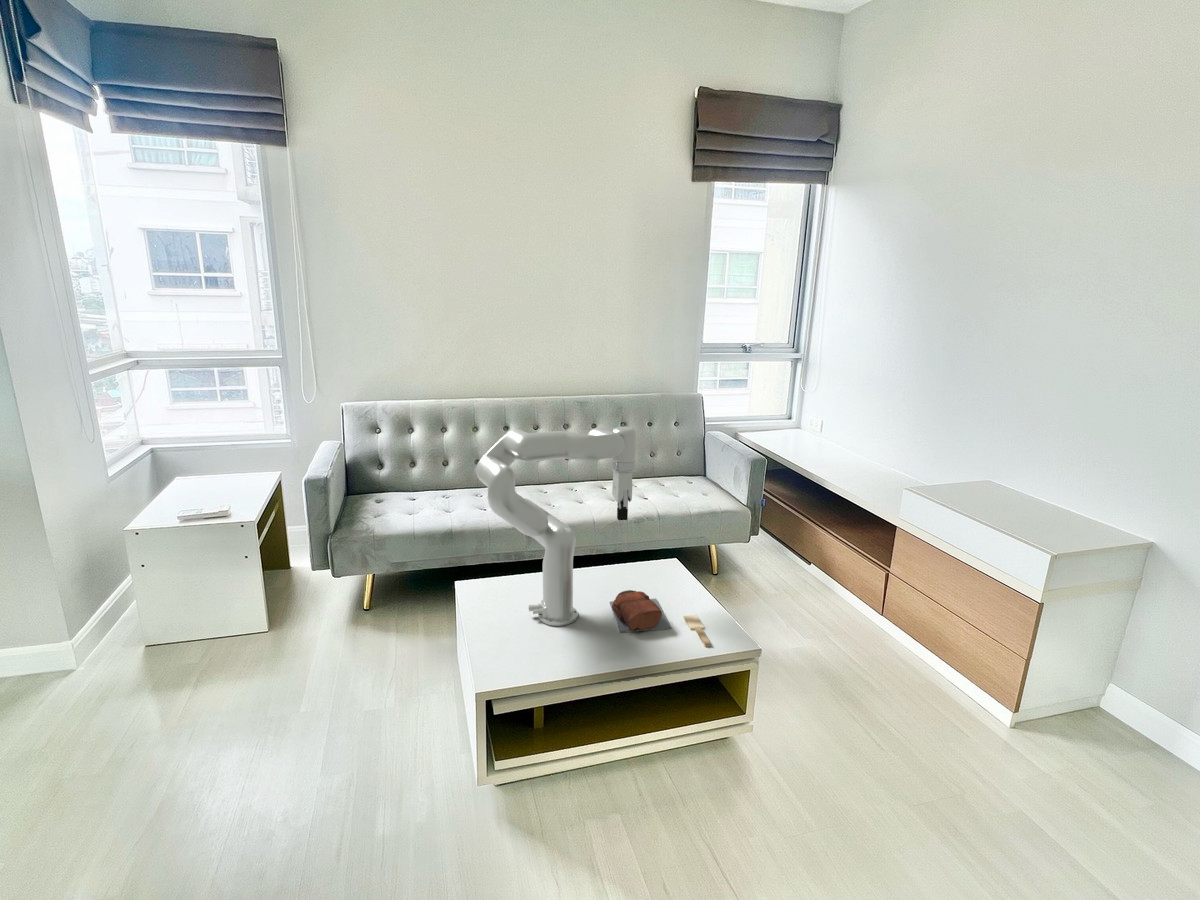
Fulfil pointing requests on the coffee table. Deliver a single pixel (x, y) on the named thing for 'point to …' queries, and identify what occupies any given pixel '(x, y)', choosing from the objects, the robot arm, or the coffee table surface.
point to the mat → (661, 625)
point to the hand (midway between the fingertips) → (622, 519)
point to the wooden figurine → (636, 610)
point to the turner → (697, 628)
